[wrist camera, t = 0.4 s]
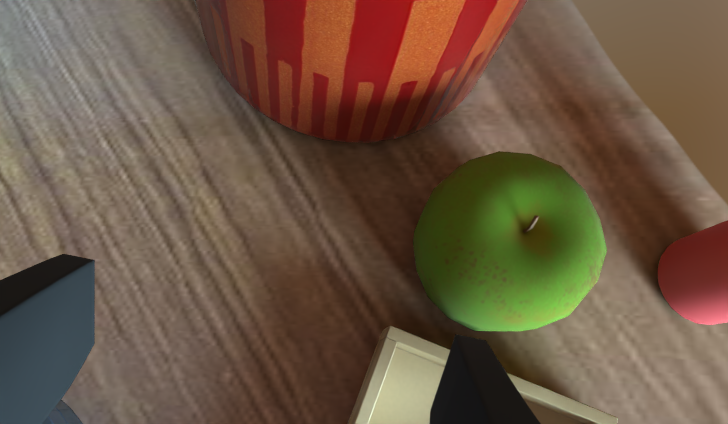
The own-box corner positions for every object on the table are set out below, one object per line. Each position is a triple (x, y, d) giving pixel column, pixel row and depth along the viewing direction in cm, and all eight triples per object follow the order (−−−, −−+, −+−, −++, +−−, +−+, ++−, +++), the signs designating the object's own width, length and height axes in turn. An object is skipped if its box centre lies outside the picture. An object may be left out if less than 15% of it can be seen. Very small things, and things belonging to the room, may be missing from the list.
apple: (372, 259, 42) (398, 216, 32) (469, 162, 45) (522, 94, 35) (487, 372, 41) (554, 366, 30) (579, 264, 44) (668, 225, 34)
